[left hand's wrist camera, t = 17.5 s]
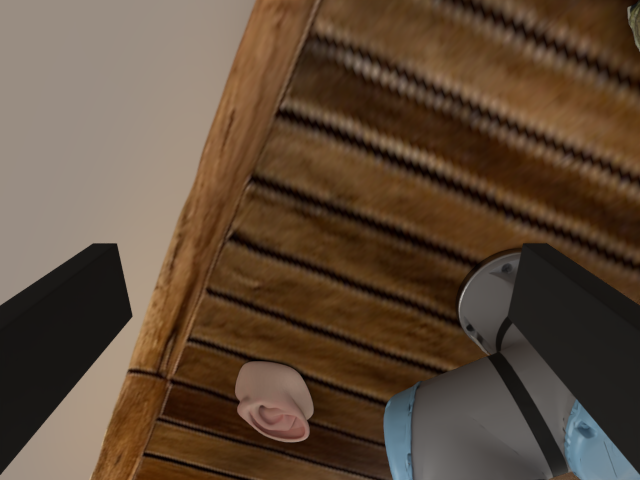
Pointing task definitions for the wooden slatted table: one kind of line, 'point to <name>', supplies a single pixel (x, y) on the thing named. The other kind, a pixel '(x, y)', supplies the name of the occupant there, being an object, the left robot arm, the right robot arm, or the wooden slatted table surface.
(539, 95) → the wooden slatted table surface
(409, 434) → the left robot arm
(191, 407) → the wooden slatted table surface
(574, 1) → the wooden slatted table surface
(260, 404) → the anatomical model
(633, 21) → the fossil
